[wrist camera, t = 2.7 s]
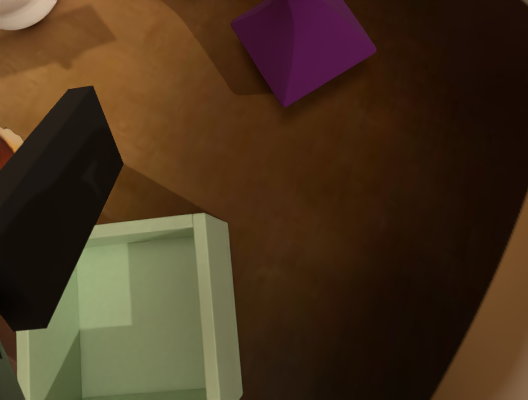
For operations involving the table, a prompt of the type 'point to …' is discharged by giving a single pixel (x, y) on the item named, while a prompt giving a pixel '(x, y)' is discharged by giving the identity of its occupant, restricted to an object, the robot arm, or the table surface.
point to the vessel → (8, 145)
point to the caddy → (141, 318)
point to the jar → (23, 12)
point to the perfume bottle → (302, 43)
